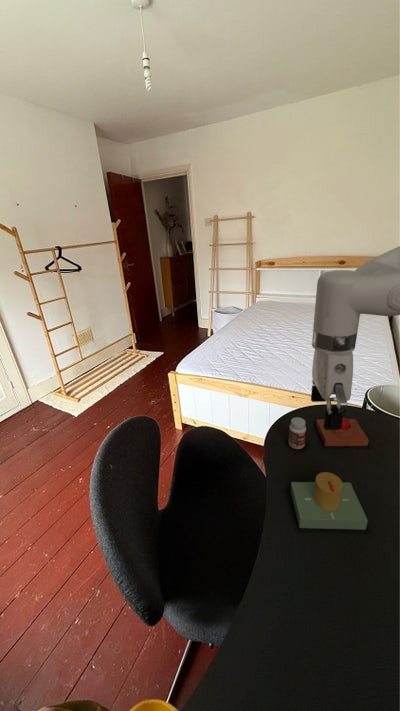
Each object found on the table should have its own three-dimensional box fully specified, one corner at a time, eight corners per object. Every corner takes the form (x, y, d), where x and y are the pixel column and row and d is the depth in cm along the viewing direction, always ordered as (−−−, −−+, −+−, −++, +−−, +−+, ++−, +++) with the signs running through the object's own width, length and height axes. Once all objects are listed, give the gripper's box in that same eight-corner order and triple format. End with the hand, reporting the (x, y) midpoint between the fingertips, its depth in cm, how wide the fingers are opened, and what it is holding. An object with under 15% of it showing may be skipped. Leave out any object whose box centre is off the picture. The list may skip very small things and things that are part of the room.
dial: (310, 489, 71) (312, 470, 69) (335, 489, 71) (338, 471, 68) (317, 510, 66) (319, 491, 64) (343, 510, 65) (347, 491, 63)
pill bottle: (299, 451, 87) (301, 428, 83) (285, 444, 90) (286, 421, 86) (308, 443, 89) (310, 421, 86) (294, 436, 93) (295, 414, 89)
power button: (346, 421, 92) (346, 416, 91) (351, 429, 88) (351, 424, 88) (332, 421, 92) (333, 416, 92) (337, 429, 89) (337, 425, 88)
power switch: (354, 424, 96) (356, 414, 94) (367, 446, 87) (369, 435, 85) (315, 424, 97) (316, 414, 95) (325, 446, 88) (326, 435, 86)
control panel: (348, 491, 73) (350, 481, 72) (365, 529, 64) (368, 519, 63) (290, 490, 75) (291, 481, 74) (299, 528, 66) (300, 518, 64)
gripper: (375, 358, 47) (359, 441, 55) (338, 323, 63) (330, 391, 70) (326, 359, 48) (317, 442, 55) (302, 324, 64) (297, 392, 71)
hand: (324, 413), depth 63 cm, fingers open, 9 cm apart
